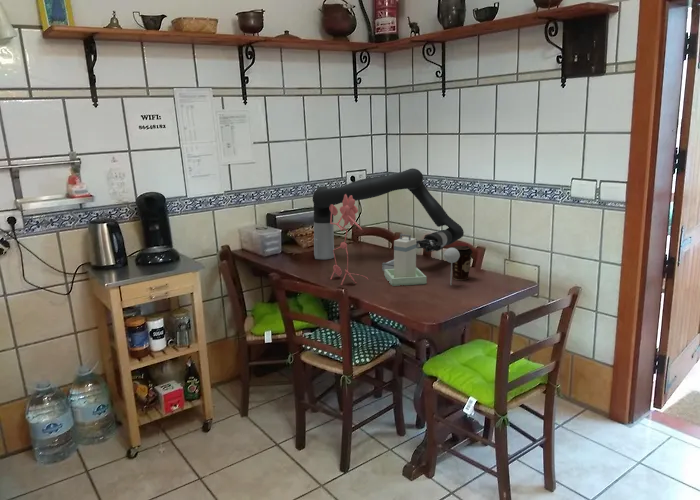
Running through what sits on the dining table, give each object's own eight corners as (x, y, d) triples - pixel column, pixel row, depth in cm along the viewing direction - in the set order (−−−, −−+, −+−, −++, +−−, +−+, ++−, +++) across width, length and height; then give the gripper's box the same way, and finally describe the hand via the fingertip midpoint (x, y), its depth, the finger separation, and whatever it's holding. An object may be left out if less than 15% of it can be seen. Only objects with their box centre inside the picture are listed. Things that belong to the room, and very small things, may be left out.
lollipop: (449, 288, 211) (450, 250, 207) (439, 284, 216) (440, 247, 212) (461, 285, 213) (463, 248, 210) (452, 281, 218) (453, 245, 215)
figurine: (349, 291, 209) (350, 199, 201) (319, 275, 231) (319, 192, 223) (383, 285, 216) (385, 197, 208) (351, 270, 238) (351, 190, 230)
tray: (392, 286, 214) (392, 278, 213) (384, 276, 228) (384, 269, 227) (426, 284, 216) (426, 276, 215) (416, 274, 230) (417, 267, 229)
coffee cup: (472, 276, 226) (474, 245, 223) (470, 282, 218) (471, 250, 215) (451, 274, 228) (452, 244, 225) (448, 280, 221) (449, 249, 218)
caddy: (405, 281, 217) (406, 237, 213) (393, 279, 220) (393, 235, 216) (415, 276, 223) (416, 233, 219) (404, 274, 227) (404, 232, 222)
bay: (400, 274, 230) (400, 266, 229) (382, 270, 236) (382, 263, 235) (412, 268, 238) (412, 261, 237) (394, 265, 244) (394, 258, 243)
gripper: (421, 230, 243) (402, 237, 230) (450, 234, 234) (432, 241, 222) (421, 247, 244) (402, 254, 232) (450, 251, 236) (432, 259, 223)
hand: (417, 248), depth 227 cm, fingers open, 8 cm apart
